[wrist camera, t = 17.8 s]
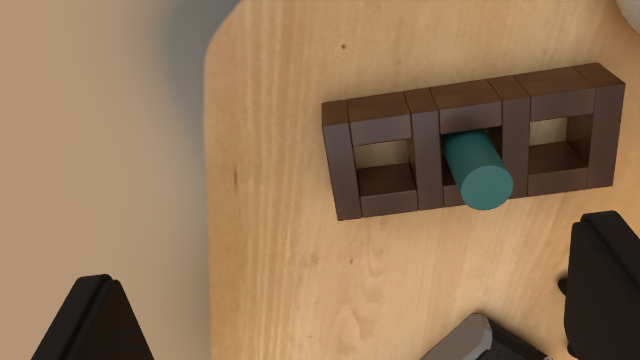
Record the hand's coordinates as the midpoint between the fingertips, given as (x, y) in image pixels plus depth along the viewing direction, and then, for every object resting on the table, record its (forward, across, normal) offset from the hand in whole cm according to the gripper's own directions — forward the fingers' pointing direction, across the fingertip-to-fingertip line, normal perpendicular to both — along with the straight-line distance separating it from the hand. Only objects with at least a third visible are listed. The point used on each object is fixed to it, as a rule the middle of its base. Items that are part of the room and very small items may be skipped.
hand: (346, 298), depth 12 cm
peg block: (+28, -8, +11) cm, 31 cm away
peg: (+28, -8, +11) cm, 31 cm away
